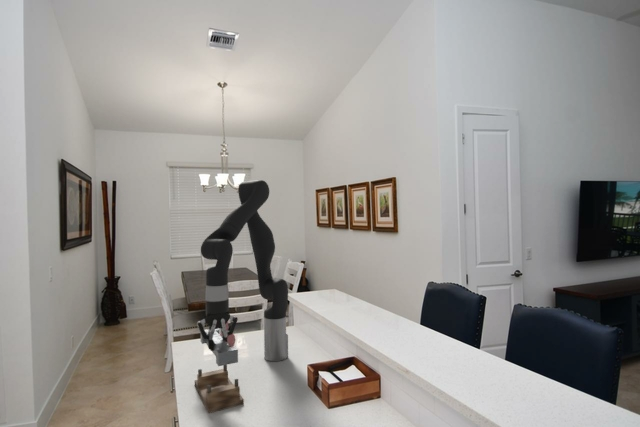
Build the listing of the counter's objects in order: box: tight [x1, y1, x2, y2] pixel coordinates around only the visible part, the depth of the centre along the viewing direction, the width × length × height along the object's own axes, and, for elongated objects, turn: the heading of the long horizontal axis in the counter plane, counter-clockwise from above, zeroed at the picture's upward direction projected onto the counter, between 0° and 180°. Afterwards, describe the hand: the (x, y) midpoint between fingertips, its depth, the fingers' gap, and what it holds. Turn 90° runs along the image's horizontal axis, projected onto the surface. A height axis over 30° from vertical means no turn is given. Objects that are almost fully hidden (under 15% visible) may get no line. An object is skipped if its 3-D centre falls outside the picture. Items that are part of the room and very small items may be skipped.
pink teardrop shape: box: [219, 321, 236, 347], centre depth 170 cm, size 8×8×12 cm
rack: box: [194, 365, 245, 414], centre depth 127 cm, size 11×22×6 cm, turn 29°
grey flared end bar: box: [200, 328, 239, 367], centre depth 127 cm, size 6×26×4 cm, turn 29°
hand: (217, 348), depth 127 cm, fingers closed on grey flared end bar, 3 cm apart
